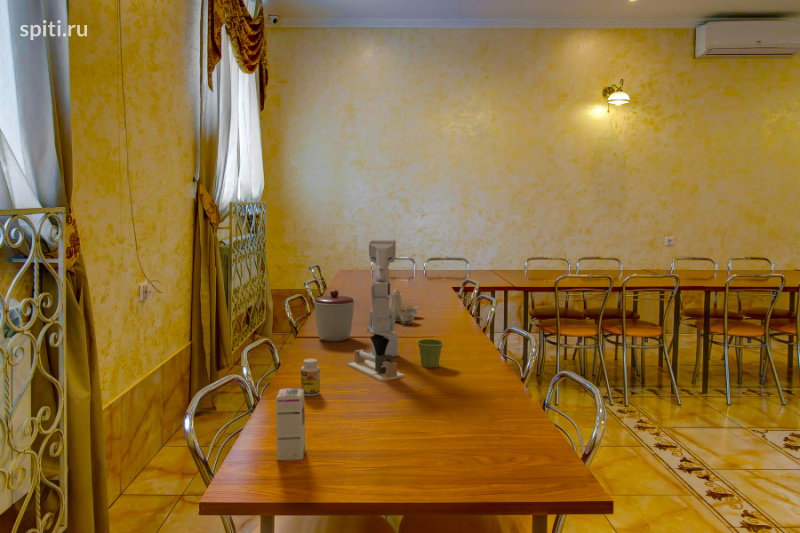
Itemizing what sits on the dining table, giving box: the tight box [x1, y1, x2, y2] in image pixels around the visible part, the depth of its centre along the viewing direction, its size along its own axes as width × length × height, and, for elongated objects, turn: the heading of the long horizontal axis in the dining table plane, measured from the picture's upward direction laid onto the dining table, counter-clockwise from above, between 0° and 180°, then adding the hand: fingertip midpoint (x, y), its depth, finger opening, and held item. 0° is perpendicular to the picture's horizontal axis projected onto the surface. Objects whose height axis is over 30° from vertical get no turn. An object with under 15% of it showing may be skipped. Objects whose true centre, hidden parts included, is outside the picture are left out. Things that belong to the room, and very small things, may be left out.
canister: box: [312, 289, 357, 342], centre depth 238 cm, size 18×18×21 cm
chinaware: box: [389, 288, 420, 325], centre depth 281 cm, size 28×17×17 cm, turn 179°
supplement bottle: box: [300, 358, 321, 397], centre depth 167 cm, size 6×6×10 cm
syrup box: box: [275, 387, 306, 461], centre depth 125 cm, size 6×6×14 cm
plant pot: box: [417, 338, 445, 369], centre depth 199 cm, size 9×9×9 cm
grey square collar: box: [375, 354, 393, 373], centre depth 187 cm, size 2×5×5 cm, turn 125°
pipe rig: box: [347, 348, 405, 382], centre depth 192 cm, size 22×9×5 cm, turn 35°
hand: (380, 357), depth 188 cm, fingers closed
